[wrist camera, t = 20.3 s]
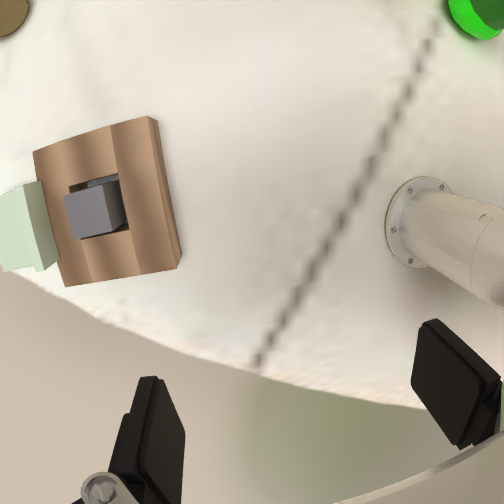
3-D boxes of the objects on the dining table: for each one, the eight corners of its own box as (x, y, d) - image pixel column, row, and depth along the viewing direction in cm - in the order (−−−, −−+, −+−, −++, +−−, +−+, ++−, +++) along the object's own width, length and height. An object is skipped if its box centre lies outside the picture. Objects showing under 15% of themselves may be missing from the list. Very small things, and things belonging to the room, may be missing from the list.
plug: (125, 177, 34) (101, 184, 27) (133, 214, 36) (112, 231, 28) (92, 186, 34) (62, 196, 27) (100, 222, 36) (73, 240, 28)
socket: (157, 120, 33) (147, 115, 28) (182, 254, 38) (176, 268, 33) (53, 150, 32) (32, 151, 27) (80, 272, 37) (65, 287, 32)
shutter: (41, 180, 28) (22, 184, 25) (59, 258, 31) (44, 270, 28) (-12, 200, 28) (-30, 206, 24) (7, 269, 31) (-10, 281, 27)
